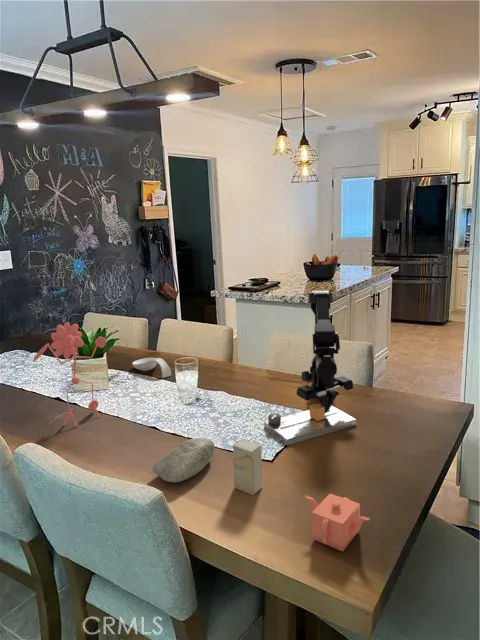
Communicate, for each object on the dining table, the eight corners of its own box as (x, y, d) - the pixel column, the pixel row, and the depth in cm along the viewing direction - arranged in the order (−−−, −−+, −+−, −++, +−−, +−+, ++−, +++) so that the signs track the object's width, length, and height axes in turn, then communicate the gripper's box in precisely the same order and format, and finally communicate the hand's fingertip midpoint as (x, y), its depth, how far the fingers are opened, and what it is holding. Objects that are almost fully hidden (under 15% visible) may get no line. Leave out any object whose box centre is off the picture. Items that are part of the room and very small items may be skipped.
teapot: (318, 510, 113) (318, 479, 111) (380, 534, 104) (380, 500, 102) (292, 539, 104) (291, 505, 102) (357, 567, 95) (357, 530, 93)
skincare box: (233, 488, 123) (231, 445, 121) (244, 480, 127) (241, 438, 124) (253, 496, 120) (251, 451, 117) (263, 487, 123) (261, 444, 120)
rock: (228, 459, 136) (175, 496, 122) (200, 450, 144) (147, 483, 130) (224, 435, 135) (170, 469, 120) (196, 427, 142) (142, 458, 128)
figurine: (120, 409, 176) (108, 316, 168) (56, 437, 157) (38, 333, 149) (95, 401, 186) (83, 313, 178) (32, 426, 166) (15, 329, 159)
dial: (271, 418, 157) (270, 412, 157) (282, 420, 155) (282, 414, 155) (266, 424, 153) (266, 417, 153) (278, 425, 152) (278, 419, 151)
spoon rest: (128, 369, 221) (126, 354, 220) (149, 363, 229) (148, 348, 227) (156, 381, 204) (155, 365, 203) (179, 373, 212) (177, 358, 210)
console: (329, 409, 167) (329, 404, 167) (355, 424, 155) (355, 419, 154) (264, 427, 156) (264, 421, 156) (286, 445, 144) (286, 439, 143)
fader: (317, 414, 158) (317, 402, 158) (324, 418, 155) (324, 407, 154) (309, 416, 157) (309, 404, 156) (316, 420, 154) (316, 409, 153)
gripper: (333, 355, 165) (333, 398, 168) (286, 365, 157) (288, 410, 160) (354, 364, 155) (354, 409, 158) (306, 375, 147) (307, 422, 151)
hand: (325, 412), depth 157 cm, fingers closed
